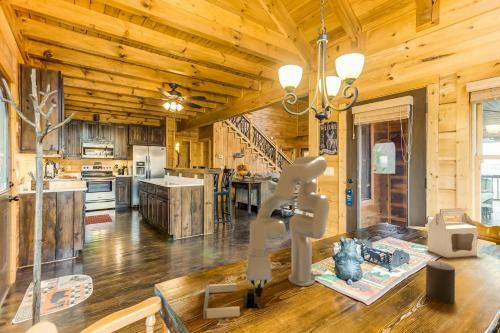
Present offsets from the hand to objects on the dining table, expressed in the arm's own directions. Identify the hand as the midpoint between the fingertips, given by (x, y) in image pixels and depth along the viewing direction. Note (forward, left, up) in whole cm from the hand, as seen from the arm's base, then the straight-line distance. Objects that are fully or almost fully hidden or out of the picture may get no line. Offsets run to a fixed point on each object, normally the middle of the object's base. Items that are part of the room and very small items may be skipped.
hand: (258, 295), depth 102 cm
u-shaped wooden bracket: (+15, 0, -2) cm, 15 cm away
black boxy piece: (+3, 0, -3) cm, 4 cm away
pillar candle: (-76, +7, -2) cm, 77 cm away
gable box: (-129, -39, -2) cm, 135 cm away
